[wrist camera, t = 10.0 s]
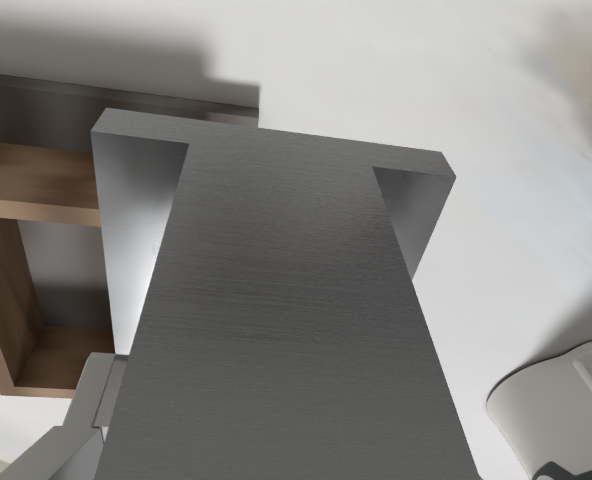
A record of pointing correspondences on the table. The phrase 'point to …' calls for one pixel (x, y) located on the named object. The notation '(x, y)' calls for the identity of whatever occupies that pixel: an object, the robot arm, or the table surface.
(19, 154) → the well box
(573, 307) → the table surface
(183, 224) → the metal bracket
